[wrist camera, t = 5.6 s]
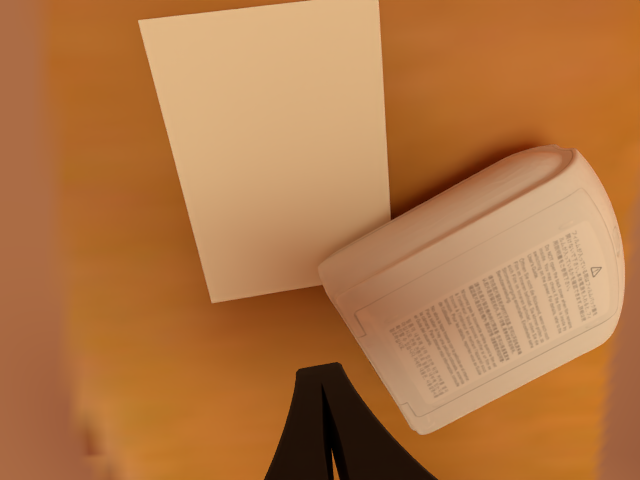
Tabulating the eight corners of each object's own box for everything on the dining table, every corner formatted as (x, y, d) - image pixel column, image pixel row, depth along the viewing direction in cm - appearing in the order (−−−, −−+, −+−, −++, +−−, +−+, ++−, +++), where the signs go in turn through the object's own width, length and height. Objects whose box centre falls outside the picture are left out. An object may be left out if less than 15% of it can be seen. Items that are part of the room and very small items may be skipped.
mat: (392, 270, 19) (393, 272, 19) (212, 300, 19) (211, 303, 18) (376, -6, 15) (378, -8, 15) (140, 21, 14) (138, 20, 14)
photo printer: (394, 388, 22) (589, 283, 21) (424, 454, 18) (664, 329, 17) (307, 252, 18) (544, 115, 17) (321, 299, 14) (629, 126, 13)
